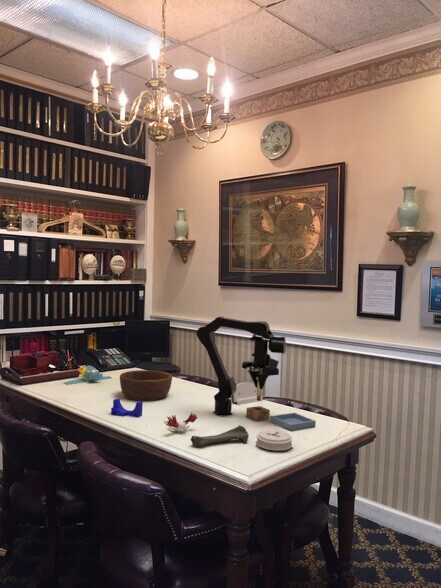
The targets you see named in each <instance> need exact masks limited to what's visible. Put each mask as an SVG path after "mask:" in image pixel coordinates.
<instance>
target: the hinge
mask: <svg viewBox="0 0 441 588" xmlns="http://www.w3.org/2000/svg"><path fill="white" fill-rule="evenodd" d="M236 384H237V386H236V392H235V393H234V394H233V395H232V396H231V398H230V399H231V403H232V404H233V403H236V405H237V406H239V405H246V404H252V403H258V402H259V401H257V388H256V387H255V384H254V382H250V381H249V382H248V381H244V382H239V383H236ZM263 400H264V399H263V395H261V401H260V402H262V401H263Z"/></svg>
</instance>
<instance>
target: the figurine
mask: <svg viewBox="0 0 441 588" xmlns="http://www.w3.org/2000/svg"><path fill="white" fill-rule="evenodd" d="M166 418H167V420H168V421H167V420H164V421H163V424H165V425H166V426H168V430H169V431H170V432H173V433H174V432H175V431H178V432H179V433H181V432H182V433H184V431H185V432H188V429H189V427H190V424H189V423H194V422H195V421H196V420H197V419H198V416H197V414H195V413H193V412H192V411H190V415H189V416H188V418H187V419H185V420H182V421H178V420H177V415H176V414H174V415H171V416H166Z"/></svg>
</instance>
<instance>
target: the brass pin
mask: <svg viewBox="0 0 441 588" xmlns="http://www.w3.org/2000/svg"><path fill="white" fill-rule="evenodd" d="M256 379H257V401H258V402H262V401H261V396H262V389H260V387H259V382H258V376H256Z"/></svg>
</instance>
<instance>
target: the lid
mask: <svg viewBox="0 0 441 588" xmlns="http://www.w3.org/2000/svg"><path fill="white" fill-rule="evenodd" d="M292 441H293V436H292V435H290V433H288V432H286V431H282V430H279V429H278V430H277V429H265V430H264V429H263V430H261V431H260V432H257V434H256V442H255V444H256V445H257V446H258V447H259V448H261V449H265V450H268V451H270V450H271V451H286V450H289V449H291V448H292V447H293V444H292Z"/></svg>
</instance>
